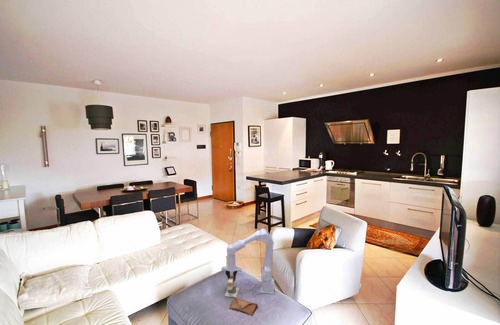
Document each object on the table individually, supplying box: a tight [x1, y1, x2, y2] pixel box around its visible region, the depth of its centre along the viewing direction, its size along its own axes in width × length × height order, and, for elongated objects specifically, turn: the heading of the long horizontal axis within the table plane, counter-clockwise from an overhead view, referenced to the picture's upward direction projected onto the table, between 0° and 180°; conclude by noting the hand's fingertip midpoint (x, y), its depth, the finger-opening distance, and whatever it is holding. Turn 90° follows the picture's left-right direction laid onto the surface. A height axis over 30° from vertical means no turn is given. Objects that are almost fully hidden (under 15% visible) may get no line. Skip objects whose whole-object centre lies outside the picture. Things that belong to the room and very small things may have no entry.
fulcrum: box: [224, 286, 240, 298], centre depth 162 cm, size 8×10×3 cm
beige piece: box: [226, 272, 237, 290], centre depth 161 cm, size 12×3×5 cm, turn 170°
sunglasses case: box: [228, 297, 259, 317], centre depth 146 cm, size 18×7×7 cm, turn 68°
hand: (231, 280), depth 161 cm, fingers closed on beige piece, 3 cm apart
